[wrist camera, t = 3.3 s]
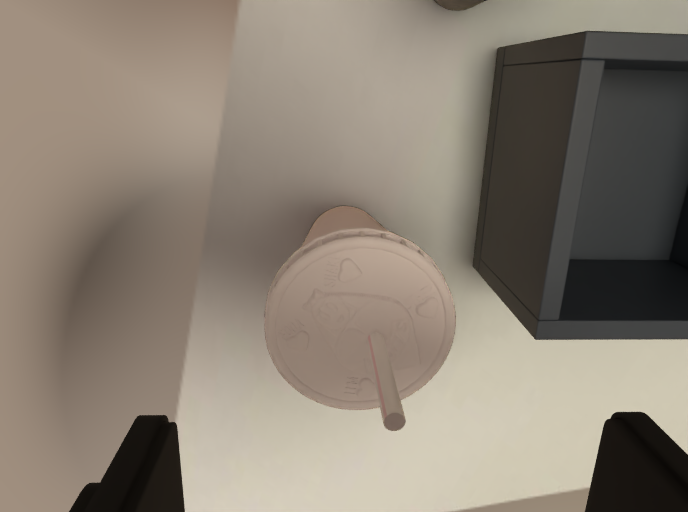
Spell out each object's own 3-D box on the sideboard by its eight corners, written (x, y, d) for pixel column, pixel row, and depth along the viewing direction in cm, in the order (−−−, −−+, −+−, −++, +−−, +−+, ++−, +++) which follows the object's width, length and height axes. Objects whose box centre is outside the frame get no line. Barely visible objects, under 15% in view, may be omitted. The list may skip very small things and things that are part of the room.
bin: (497, 47, 23) (586, 30, 16) (719, 54, 24) (909, 41, 16) (472, 266, 26) (534, 340, 19) (667, 267, 27) (803, 339, 20)
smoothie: (361, 320, 27) (405, 547, 14) (257, 259, 26) (195, 448, 12) (433, 223, 26) (558, 374, 12) (326, 152, 24) (338, 238, 11)
